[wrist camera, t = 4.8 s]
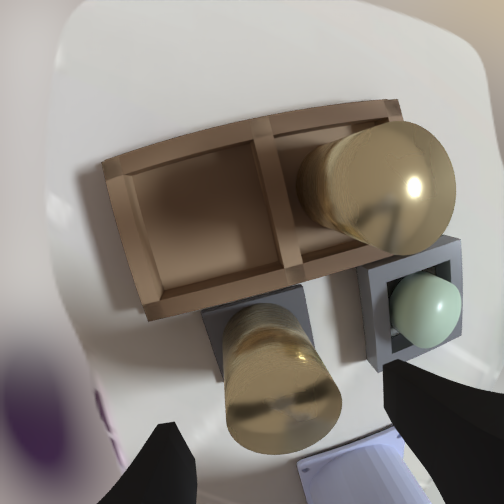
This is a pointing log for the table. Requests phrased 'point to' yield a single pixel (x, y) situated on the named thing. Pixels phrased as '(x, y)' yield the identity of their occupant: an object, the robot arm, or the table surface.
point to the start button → (425, 308)
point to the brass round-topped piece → (381, 187)
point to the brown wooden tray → (232, 209)
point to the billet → (275, 382)
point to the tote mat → (221, 315)
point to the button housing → (376, 297)
